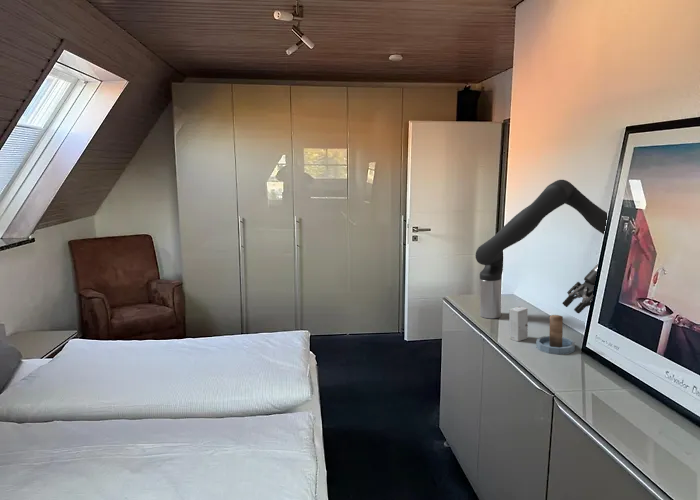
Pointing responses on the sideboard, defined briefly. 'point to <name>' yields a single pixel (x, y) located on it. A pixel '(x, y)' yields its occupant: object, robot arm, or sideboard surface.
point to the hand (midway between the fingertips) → (570, 308)
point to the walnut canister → (556, 331)
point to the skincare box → (518, 323)
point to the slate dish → (544, 346)
